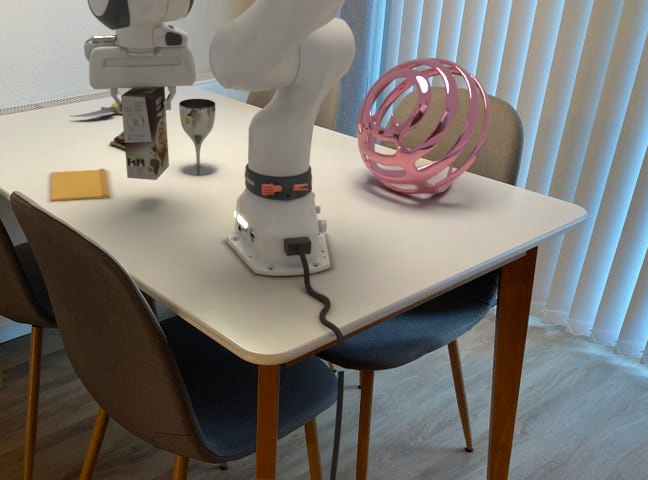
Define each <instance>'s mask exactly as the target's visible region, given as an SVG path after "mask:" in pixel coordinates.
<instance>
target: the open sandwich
mask: <svg viewBox="0 0 648 480" xmlns="http://www.w3.org/2000/svg"><path fill="white" fill-rule="evenodd" d="M109 145H110V146H114V147H117V148H119V149H123V150H125V141H124V130H123V131H122V132H121V133H120V134H118V135H117V136H115V137H114V138H113V140H112V141H110V142H109Z"/></svg>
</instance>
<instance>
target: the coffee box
mask: <svg viewBox="0 0 648 480" xmlns="http://www.w3.org/2000/svg"><path fill="white" fill-rule="evenodd" d="M165 88H166V87H143V88H129V89H128V90H127V91H126V92H124V93H123V94H121V95H120V101H121V102H122V114H121V115H122V126H123V127H122V128H123V131H124V141H125V149H124V150H125V151H124V153H125V163H126V164H125V165H126V176H127V179H137V180H148V181H149V180H151V181H157V180H158V179H159V178H160V177H161V175H163V173H164V172H165V171H166V170H168V168H169V167H170V162H169V161H170V159H169V141H168V125H167V124H168V123H167V110H163V99H166V91H165V90H166V89H165Z"/></svg>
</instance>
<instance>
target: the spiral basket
mask: <svg viewBox="0 0 648 480" xmlns="http://www.w3.org/2000/svg"><path fill="white" fill-rule="evenodd" d="M421 66H426V67H429V68H426V69H423V70H417V69H415V68H418V67H421ZM454 75H455V76H459V77H462V78H463V80H464V81H465V84H466V87H467V90H468V94H469V95H468V96H469V97H468V98H469V106H468V112H467V117H466V120H465V123H464V125H463V127H462V130H461V132H460V133H459V136H458V137H457V139H456V140H455V142H454V143H453V145H452V146H451V147H450V148H449V149H448V150H447V152H446V153H445V154H444V155H443V156H441V157H440V158H439V159H438V160H434V161H432V162H429V163H427V164H423V165H421V166H417V167H416V162H417V161H418V160H419V159H421V158H423V157H425V156H426V155H428V153H430V152H431V151H432V150H434V149H435V147H437V145H439V143H440V142H441V141H442V140H443V138H444V137H445V136H446V134H447V133H448V131H449V130H450V128H451V126H452V124H453V122H454V119H455V117H456V114H457V110H458V105H459V88H458V84H457V80H456V78H455V76H454ZM436 76H440V77H441V79H442V81H443V85H444V89H445V102H444V107H443V110H442V113H441V115H440V116H439V117H440V118H439V120H438V122H437V123H436V124H435V126H434V128H433V129H432V130H431V132H430V133H429V134H428V135H427V136H426V137H425V138H424V139H423V140H422V141H420V142H419V143H418V144H416V145H415V146H414V147H412V148H408V147H406V145H405V143H404V138H405V137H406V136H407V135H409V134H411V133H412V132H413V131H414V130H415V129H416V128H417V127H418V126H420V124H421V123H422V121H423V120H424V119H425V117H426V115H427V113H428V111H429V109H430V106H431V101H432V86H431V82H430V80H429V78H431V77H436ZM402 78H403V79H404V80H403V81H402V82H400V83H398V85H396V87H395V86H394V88H393V89H392V90H391V91H390V92H389V94H388V95H387V96H386V97H385V98H384V99H383V100H382V102H381V104H379V107H378V108H377V110H376V112H375V113H374V114H372V109H373V107H374V104H375V102H376V101H377V100H378V98H379V97H380V96H381V94H382V93H383V91H385V89H386V88H388V86H389V85H390V84H391V83H393V82H394V81H395V80H396V79H402ZM414 85H415V86H416V89H417V101H416V104H415V106H414V108H413V110H412V112H410V114H409V115H408V117H407V118H406V119H405V120H403V121H402V122H401V123H398V122H397V120H396V117H395V115H394V113H391V118H390V119H391V121H390V123H391V124H390V127H382V126H381V123H382V121H383V119H384V117H385V116H386V114H387V112H388V111H389V109H390V108H391V106H392V105H393V104H394V103H395V102H396V100H397V99H398V98H399V97H400V96H401V95H402V94H404V93H405V92H406V91H407V90H408V89H410V88H411V87H413V86H414ZM479 93H480V95H481V97H482V101H483V106H484V115H483V116H484V117H483V123H482V128H481V132H480V134H479V137H478V139H477V142H476V143H475V145H474V146H473V149H472V150H471V152H470V153H469V155H468V156H467V158H465V160H463V162H462V163H461V164H460V165H459V167H457V168H456V169H455V170H454V171H453V164H452V163H453V162H454V161H455V160H457V158H458V157H459V156H460V155H461V153H462V152H463V150H464V149H465V148H466V146H467V145H468V143H469V142H470V139H471V137H472V136H473V134H474V131H475V128H476V126H477V122H478V118H479V111H480V98H479ZM491 111H492V110H491V103H490V100H489V97H488V94H487V91H486V90H485V88H484V86H483V84H481V82H480V80H478V79H477V78H476V77H475V76H474V75H473V74H472V73H470V72H468V70H466V69H465V68H464V67H463V66H462V65H460V64H458V63H456V62H454V61H452V60H449V59H445V58H439V57H428V58H427V57H426V58H413V59H410V60H406V61H402V62H401V63H398V64H396V65H395V66H393V67H391V68H390V69H388V70H387V71H386V72H384V73H383V74H382V75H381V76H379V78H378V79H376V81H375V82H374V83H373V84H372V85H371V86H370V88H369V89H368V91H367V92H366V94H365V96H364V98H363V100H362V102H361V104H360V107H359V109H358V114H357V119H356V136H357V145H358V152H359V155H360V157H361V160H362V162H363V164H364V165H365V167H366V169H368V171H369V172H370V173H371V174H372V175H373V176H374V177H375V178H376V180H378V181H379V182H380V183H381V184H383V185H384V187H386V188H388V189H390V190H392V191H394V192H396V193H400V194H404V195H413V196H414V195H415V196H417V195H438V194H442V193H443V192H445V191H446V190H447V189H448V188H449V187H450V185H451V184H452V183H453V182H454V181H455V180H457V179H458V178H459V177H461V176H462V175H463V174H464V173H465V172H466V171H467V170H468V169H469V168H470V167H471V166H472V165H473V163H474V162H475V160H476V159H477V158H478V156H479V154H480V153H481V151H482V149H483V147H484V145H485V143H486V141H487V138H488V134H489V130H490V127H491V118H492V117H491V116H492V114H491ZM376 140H378V141H382V142H392V143H393V144H394V146H395V148H396V152H395V153H394V154H393V153H392V154H384V153H381V152H378V151H376V150H375V149H376V148H375V147H376ZM379 165H381V166H385V167H400V168H402V169H387V168H383V167H380V166H379ZM446 168H448V170H447V174H446V177H445V178H443V179H441V180H439V181H438V182H433V183H430V182H428V181H429V180H430V179H431V178H433V177H434V176H437V175H438V174H439V173H441V172H443V171H444V170H445V169H446ZM395 185H397V186H395ZM398 186H413V187H415V188H402V187H398Z"/></svg>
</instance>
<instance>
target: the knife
mask: <svg viewBox="0 0 648 480" xmlns="http://www.w3.org/2000/svg"><path fill="white" fill-rule="evenodd" d="M110 105H111V106H109V107H107V106H106V107H105V106H101V108H100V109H99V110H96V111H92V112H87V113H81V114H76V115H70V117H71V118H95V117H103V116H110V115H113V114H118V115H122V112H118V109H117V103H116V102H113V103H112V104H110Z"/></svg>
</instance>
